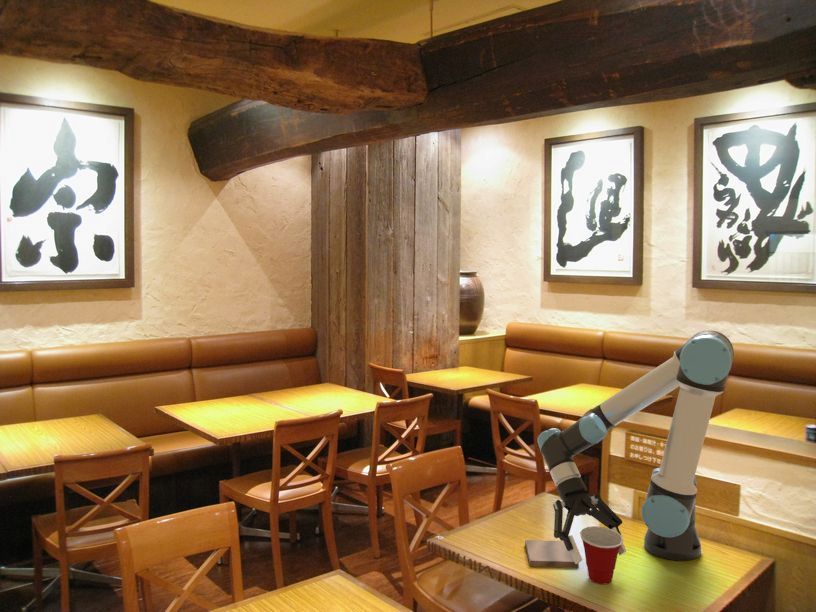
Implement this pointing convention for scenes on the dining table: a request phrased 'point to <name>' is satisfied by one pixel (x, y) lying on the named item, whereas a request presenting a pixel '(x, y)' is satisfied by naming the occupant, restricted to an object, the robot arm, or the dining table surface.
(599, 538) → the plastic cup
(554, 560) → the walnut coaster board
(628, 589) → the dining table surface
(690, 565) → the dining table surface
